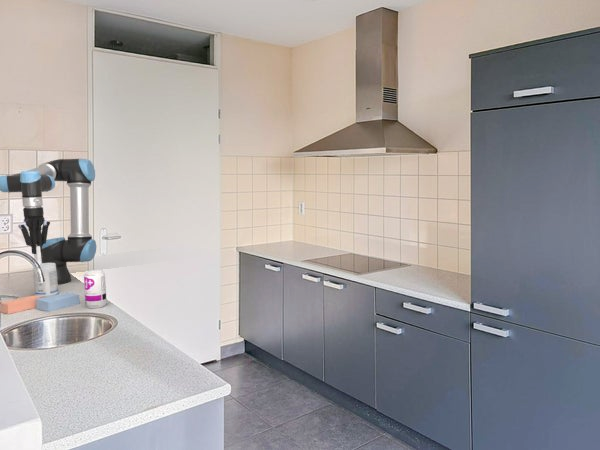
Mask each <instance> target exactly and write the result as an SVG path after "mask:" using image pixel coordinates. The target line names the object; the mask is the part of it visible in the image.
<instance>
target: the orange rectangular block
mask: <svg viewBox="0 0 600 450" xmlns="http://www.w3.org/2000/svg"><path fill="white" fill-rule="evenodd" d="M40 298H43V297H39V296H36V294H35V295H29V296H25V297H21V298H15V299H10V300H6V301H2V302H0V303H1V310H0V313H2V312H3V314H5V315H6V314H7V315H11V314H15V313H19V312H22V311H23V312H24V311H27V310H32V309H36V299H40Z"/></svg>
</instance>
